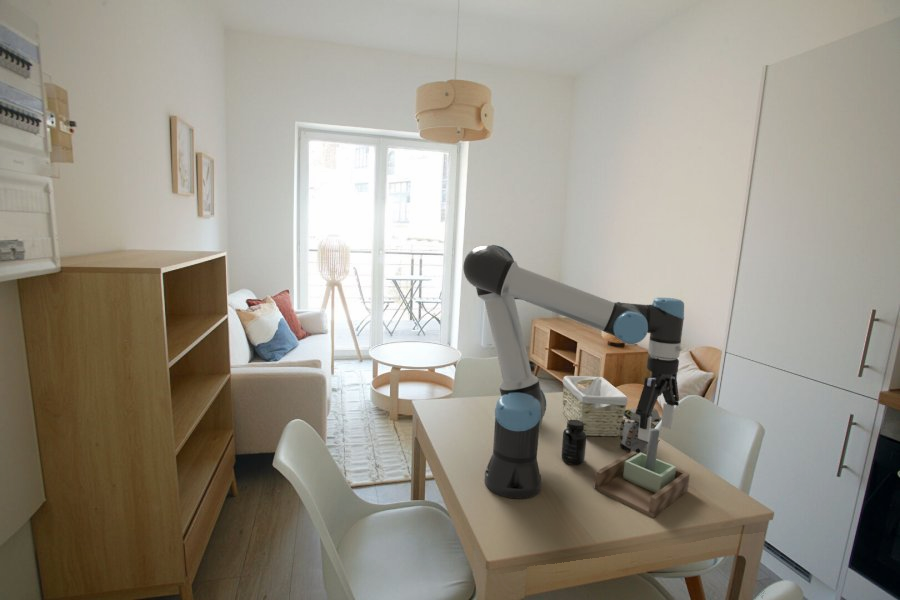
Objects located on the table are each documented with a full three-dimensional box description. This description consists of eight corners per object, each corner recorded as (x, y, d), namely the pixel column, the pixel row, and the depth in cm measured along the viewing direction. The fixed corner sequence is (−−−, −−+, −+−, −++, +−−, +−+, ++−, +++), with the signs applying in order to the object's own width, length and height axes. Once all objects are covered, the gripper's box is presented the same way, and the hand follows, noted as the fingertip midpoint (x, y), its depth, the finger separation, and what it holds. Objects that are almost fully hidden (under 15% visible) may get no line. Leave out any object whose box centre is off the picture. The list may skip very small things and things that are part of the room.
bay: (653, 518, 111) (655, 498, 111) (594, 488, 123) (596, 471, 122) (687, 491, 124) (689, 473, 124) (631, 467, 136) (633, 451, 136)
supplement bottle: (565, 452, 143) (569, 415, 142) (587, 459, 140) (591, 422, 138) (557, 460, 138) (560, 422, 136) (579, 468, 134) (583, 429, 132)
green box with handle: (659, 494, 119) (665, 441, 117) (623, 478, 127) (628, 427, 125) (674, 483, 125) (680, 432, 123) (638, 468, 133) (644, 420, 131)
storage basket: (558, 411, 179) (561, 374, 177) (599, 412, 180) (603, 375, 177) (578, 438, 155) (582, 396, 153) (625, 439, 156) (630, 397, 154)
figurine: (662, 462, 141) (668, 415, 138) (624, 459, 141) (629, 413, 139) (650, 448, 150) (655, 404, 147) (614, 446, 150) (619, 402, 148)
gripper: (655, 367, 110) (647, 451, 113) (697, 353, 127) (688, 426, 129) (626, 360, 116) (618, 440, 119) (669, 347, 132) (662, 418, 135)
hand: (655, 433), depth 124 cm, fingers open, 13 cm apart
